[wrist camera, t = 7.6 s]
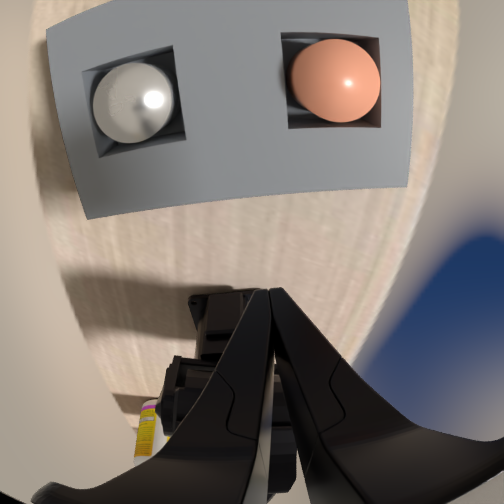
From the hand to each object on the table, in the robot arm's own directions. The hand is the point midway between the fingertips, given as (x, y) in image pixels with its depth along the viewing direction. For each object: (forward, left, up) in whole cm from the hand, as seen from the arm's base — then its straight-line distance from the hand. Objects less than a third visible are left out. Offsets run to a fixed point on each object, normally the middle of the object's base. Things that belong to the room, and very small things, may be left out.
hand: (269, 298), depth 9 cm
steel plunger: (+6, +6, -11) cm, 13 cm away
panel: (+6, +1, -12) cm, 13 cm away
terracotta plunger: (+6, -4, -10) cm, 13 cm away
